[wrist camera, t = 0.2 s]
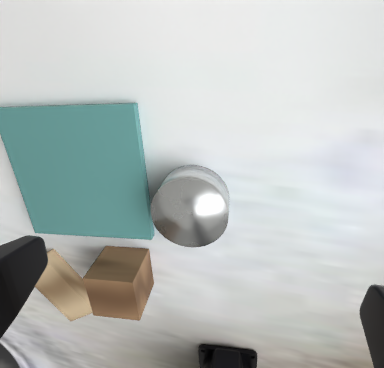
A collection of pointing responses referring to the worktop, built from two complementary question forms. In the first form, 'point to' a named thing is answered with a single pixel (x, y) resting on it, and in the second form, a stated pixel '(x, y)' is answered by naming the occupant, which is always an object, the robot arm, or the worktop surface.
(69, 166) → the plate
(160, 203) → the metal tin
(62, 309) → the beech slab
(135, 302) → the walnut block
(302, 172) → the worktop surface
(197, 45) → the worktop surface
